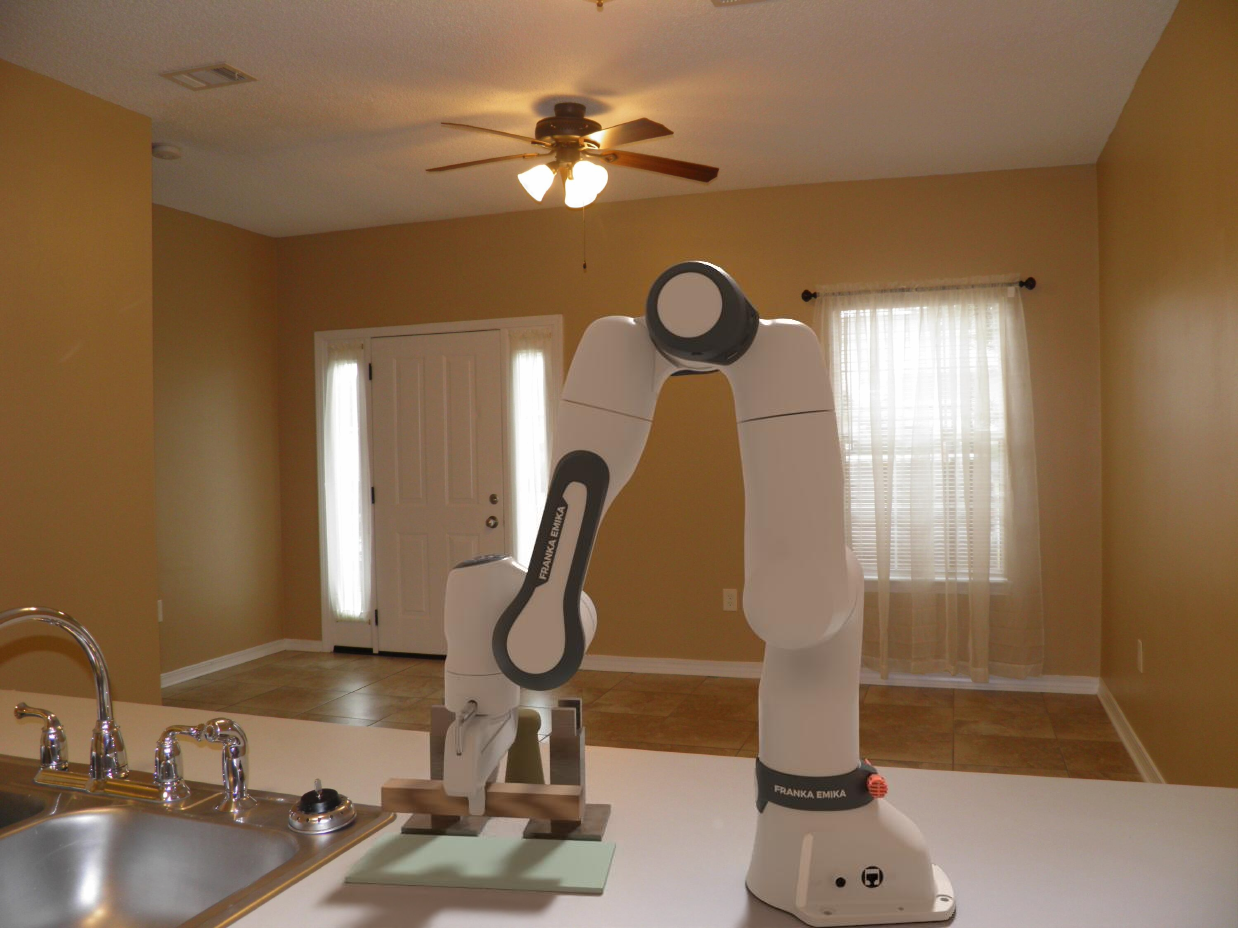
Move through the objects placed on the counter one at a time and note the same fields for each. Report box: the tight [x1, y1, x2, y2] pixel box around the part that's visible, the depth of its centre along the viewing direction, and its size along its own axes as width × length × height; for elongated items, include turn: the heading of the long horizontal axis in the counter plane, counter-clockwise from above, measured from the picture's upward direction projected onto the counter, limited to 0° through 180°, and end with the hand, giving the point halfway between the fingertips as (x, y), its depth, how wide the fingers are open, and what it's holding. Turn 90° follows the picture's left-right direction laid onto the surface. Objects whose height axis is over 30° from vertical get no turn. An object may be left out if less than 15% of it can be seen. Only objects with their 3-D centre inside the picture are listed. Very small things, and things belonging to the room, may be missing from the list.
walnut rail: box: [380, 777, 583, 821], centre depth 110 cm, size 24×3×3 cm, turn 83°
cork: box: [504, 708, 546, 784], centre depth 136 cm, size 6×6×11 cm
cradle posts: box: [400, 694, 612, 842], centre depth 122 cm, size 26×10×16 cm, turn 83°
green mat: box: [344, 832, 617, 894], centre depth 110 cm, size 30×12×1 cm, turn 83°
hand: (483, 805), depth 110 cm, fingers closed on walnut rail, 3 cm apart
